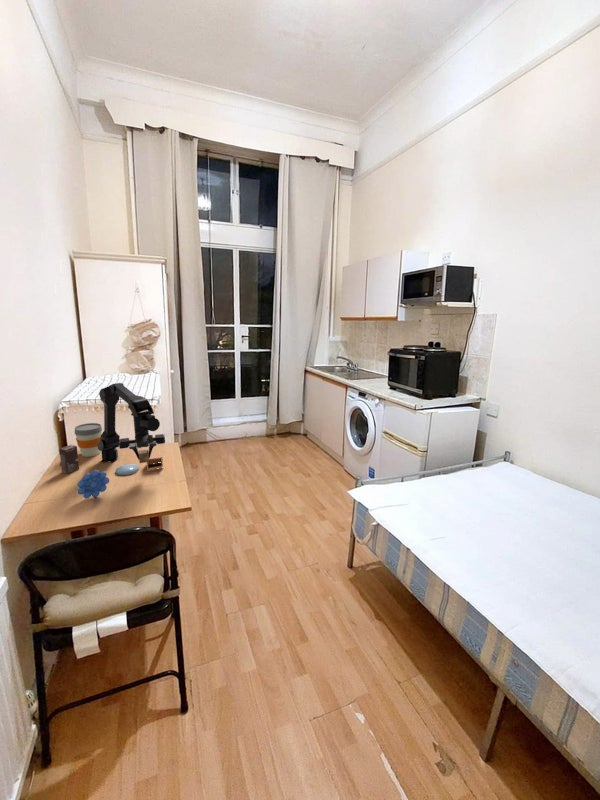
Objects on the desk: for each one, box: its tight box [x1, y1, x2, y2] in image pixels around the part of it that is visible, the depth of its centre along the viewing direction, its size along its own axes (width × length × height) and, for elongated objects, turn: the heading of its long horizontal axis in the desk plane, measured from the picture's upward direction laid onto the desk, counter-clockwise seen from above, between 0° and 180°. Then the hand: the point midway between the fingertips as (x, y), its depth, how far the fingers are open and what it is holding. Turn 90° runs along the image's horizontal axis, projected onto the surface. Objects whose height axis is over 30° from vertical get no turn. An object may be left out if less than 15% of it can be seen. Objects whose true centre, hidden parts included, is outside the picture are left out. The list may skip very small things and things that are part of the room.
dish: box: [115, 463, 140, 476], centre depth 171 cm, size 10×10×1 cm
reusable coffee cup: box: [74, 422, 103, 457], centre depth 188 cm, size 12×12×15 cm
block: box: [138, 449, 149, 464], centre depth 161 cm, size 4×4×4 cm
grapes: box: [77, 469, 110, 499], centre depth 146 cm, size 12×7×12 cm, turn 120°
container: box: [146, 451, 164, 471], centre depth 175 cm, size 7×7×6 cm
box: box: [58, 444, 80, 474], centre depth 168 cm, size 6×4×12 cm
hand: (144, 458), depth 162 cm, fingers closed on block, 4 cm apart
